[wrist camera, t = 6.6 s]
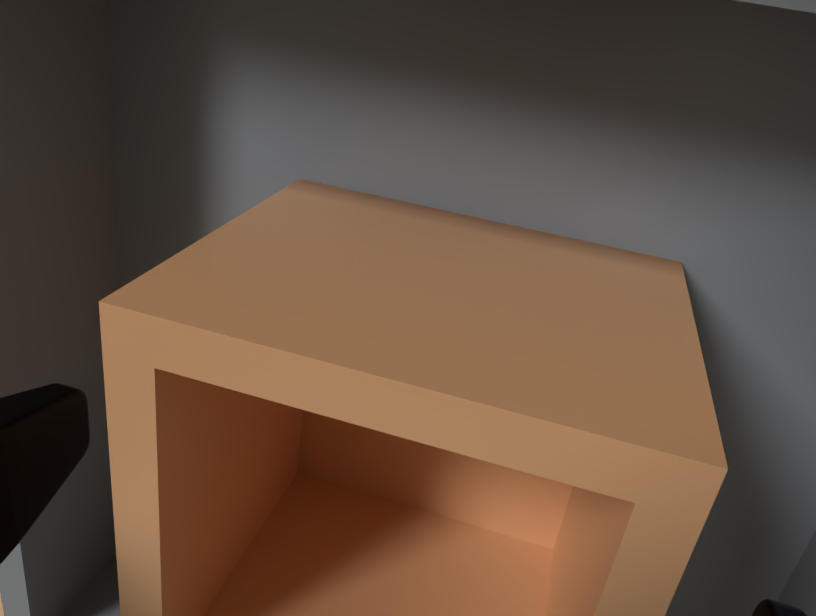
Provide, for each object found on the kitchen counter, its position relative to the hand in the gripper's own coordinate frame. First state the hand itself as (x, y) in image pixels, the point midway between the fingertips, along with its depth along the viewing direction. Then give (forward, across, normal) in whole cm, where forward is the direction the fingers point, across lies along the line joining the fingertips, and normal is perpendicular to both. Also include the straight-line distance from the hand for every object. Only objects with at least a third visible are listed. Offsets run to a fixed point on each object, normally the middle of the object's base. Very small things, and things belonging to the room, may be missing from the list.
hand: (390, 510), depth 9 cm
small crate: (+4, 0, 0) cm, 4 cm away
